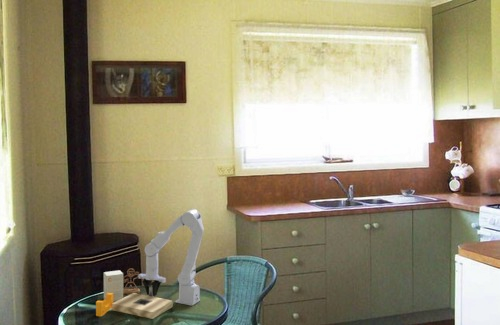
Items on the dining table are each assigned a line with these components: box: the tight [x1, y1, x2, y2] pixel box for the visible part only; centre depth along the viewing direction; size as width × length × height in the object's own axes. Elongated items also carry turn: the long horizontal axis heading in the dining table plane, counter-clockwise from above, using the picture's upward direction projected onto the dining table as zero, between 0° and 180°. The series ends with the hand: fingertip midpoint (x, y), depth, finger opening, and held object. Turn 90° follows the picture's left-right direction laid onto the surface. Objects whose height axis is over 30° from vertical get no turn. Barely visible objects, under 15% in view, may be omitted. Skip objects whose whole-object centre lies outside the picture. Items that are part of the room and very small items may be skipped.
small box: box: [103, 269, 124, 302], centre depth 243 cm, size 8×6×13 cm
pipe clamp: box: [95, 293, 114, 317], centre depth 229 cm, size 12×4×6 cm, turn 171°
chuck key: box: [148, 283, 156, 297], centre depth 247 cm, size 3×6×7 cm, turn 156°
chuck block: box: [111, 293, 174, 320], centre depth 233 cm, size 22×16×3 cm
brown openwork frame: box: [123, 268, 141, 295], centre depth 254 cm, size 9×4×12 cm, turn 104°
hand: (151, 294), depth 247 cm, fingers closed on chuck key, 3 cm apart
